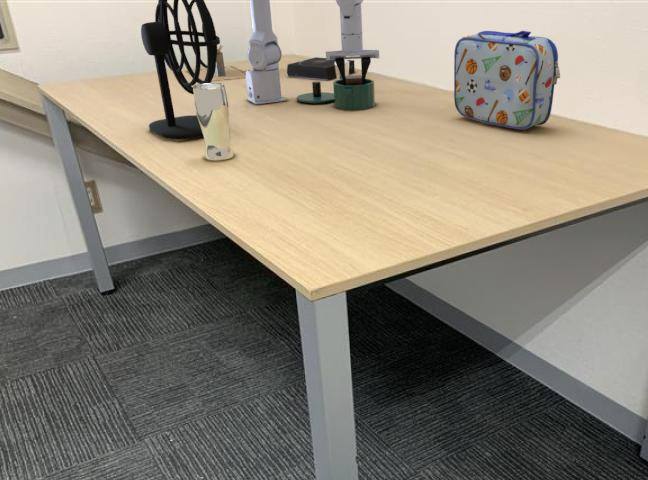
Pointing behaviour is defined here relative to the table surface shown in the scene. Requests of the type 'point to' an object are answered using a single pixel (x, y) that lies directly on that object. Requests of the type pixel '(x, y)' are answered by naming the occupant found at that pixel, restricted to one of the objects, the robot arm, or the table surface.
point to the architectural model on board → (222, 70)
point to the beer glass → (213, 119)
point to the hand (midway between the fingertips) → (353, 86)
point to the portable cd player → (316, 69)
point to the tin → (354, 95)
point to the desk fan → (162, 49)
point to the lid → (316, 95)
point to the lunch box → (505, 78)
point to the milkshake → (345, 70)
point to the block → (354, 80)
